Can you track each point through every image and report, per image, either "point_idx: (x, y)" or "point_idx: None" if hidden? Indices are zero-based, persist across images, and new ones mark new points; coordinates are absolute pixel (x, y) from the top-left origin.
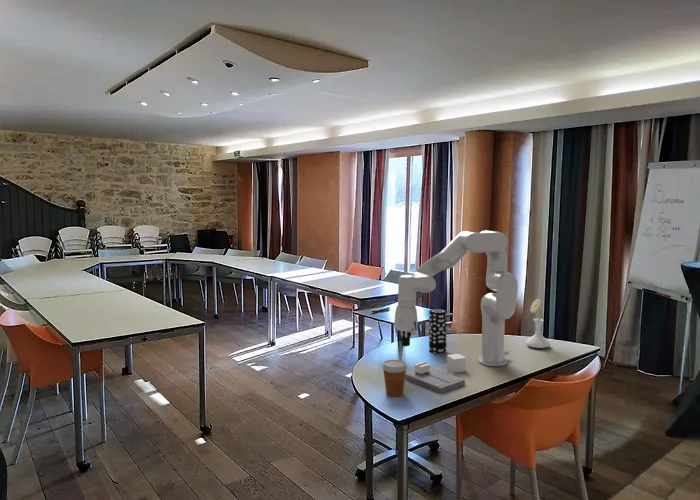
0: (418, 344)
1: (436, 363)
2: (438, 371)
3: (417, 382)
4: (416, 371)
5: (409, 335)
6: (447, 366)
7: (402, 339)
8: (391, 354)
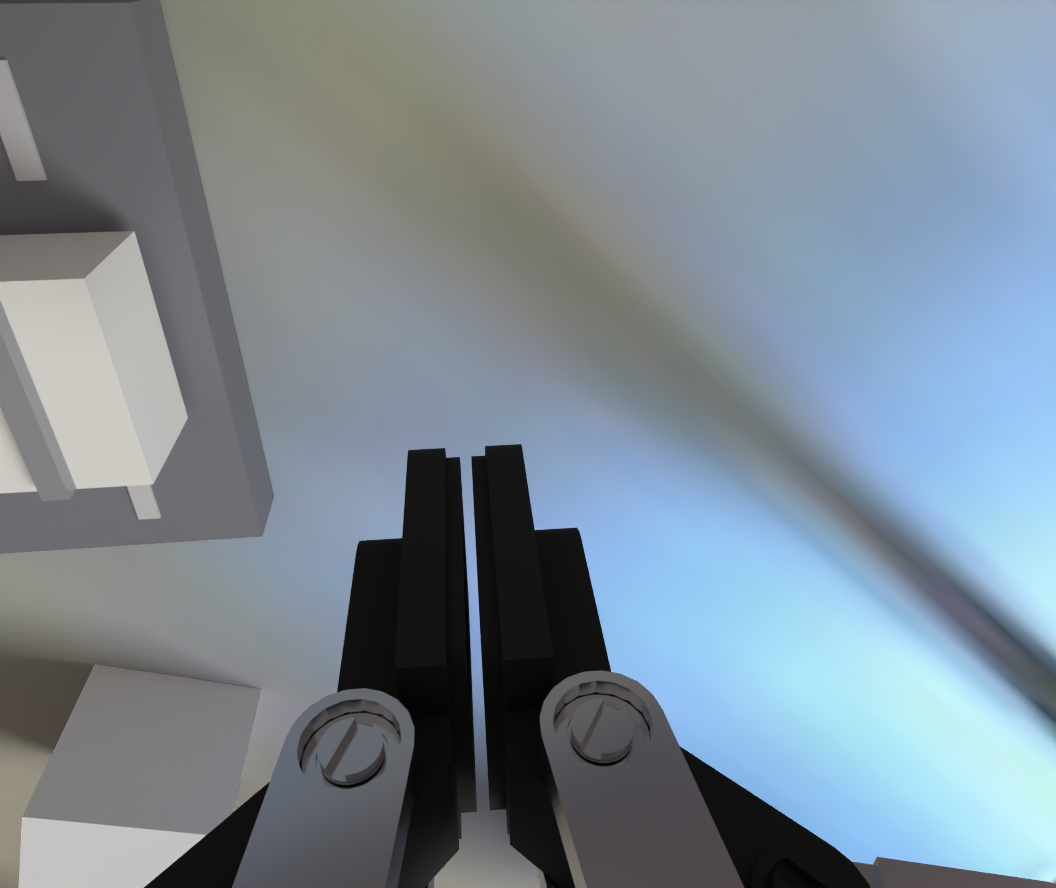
0: (946, 827)
1: None
2: (16, 524)
3: None
4: (74, 236)
5: (194, 868)
6: (242, 706)
7: (513, 578)
8: (1032, 517)
